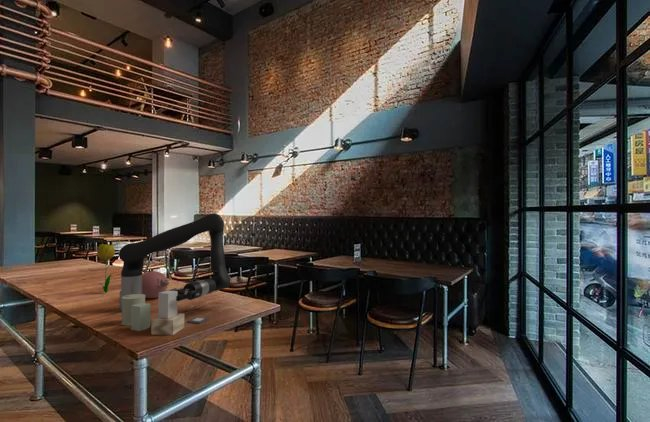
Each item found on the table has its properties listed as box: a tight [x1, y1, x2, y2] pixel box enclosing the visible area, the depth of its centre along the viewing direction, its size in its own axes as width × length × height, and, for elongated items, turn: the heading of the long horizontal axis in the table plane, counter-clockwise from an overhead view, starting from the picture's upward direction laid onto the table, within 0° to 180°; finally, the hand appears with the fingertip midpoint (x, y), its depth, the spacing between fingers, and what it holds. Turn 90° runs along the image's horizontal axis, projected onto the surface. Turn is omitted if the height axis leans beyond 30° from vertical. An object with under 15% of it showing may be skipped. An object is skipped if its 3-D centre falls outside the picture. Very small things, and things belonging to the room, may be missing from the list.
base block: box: [150, 313, 185, 336], centre depth 137 cm, size 9×9×6 cm
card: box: [186, 316, 210, 325], centre depth 149 cm, size 7×6×1 cm
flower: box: [96, 243, 116, 294], centre depth 201 cm, size 9×8×30 cm
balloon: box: [142, 270, 170, 299], centre depth 189 cm, size 15×20×15 cm
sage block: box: [130, 302, 151, 332], centre depth 139 cm, size 5×5×10 cm
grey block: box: [157, 289, 178, 319], centre depth 137 cm, size 5×5×10 cm
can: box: [120, 294, 146, 327], centre depth 147 cm, size 9×9×12 cm
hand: (168, 297), depth 137 cm, fingers open, 8 cm apart
